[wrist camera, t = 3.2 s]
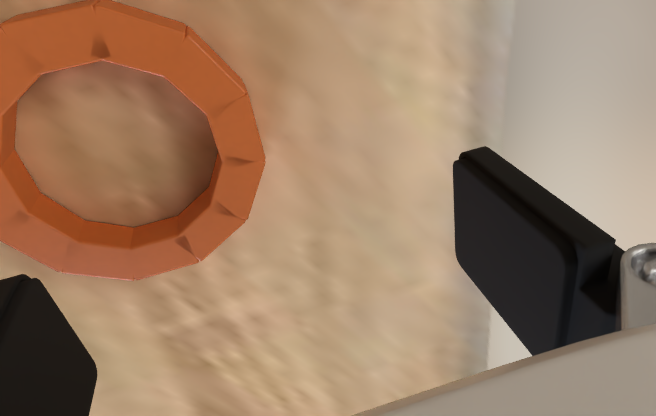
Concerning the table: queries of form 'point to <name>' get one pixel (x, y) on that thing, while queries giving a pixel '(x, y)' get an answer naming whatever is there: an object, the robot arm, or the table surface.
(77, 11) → the orange ring
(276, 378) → the table surface
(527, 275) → the robot arm
